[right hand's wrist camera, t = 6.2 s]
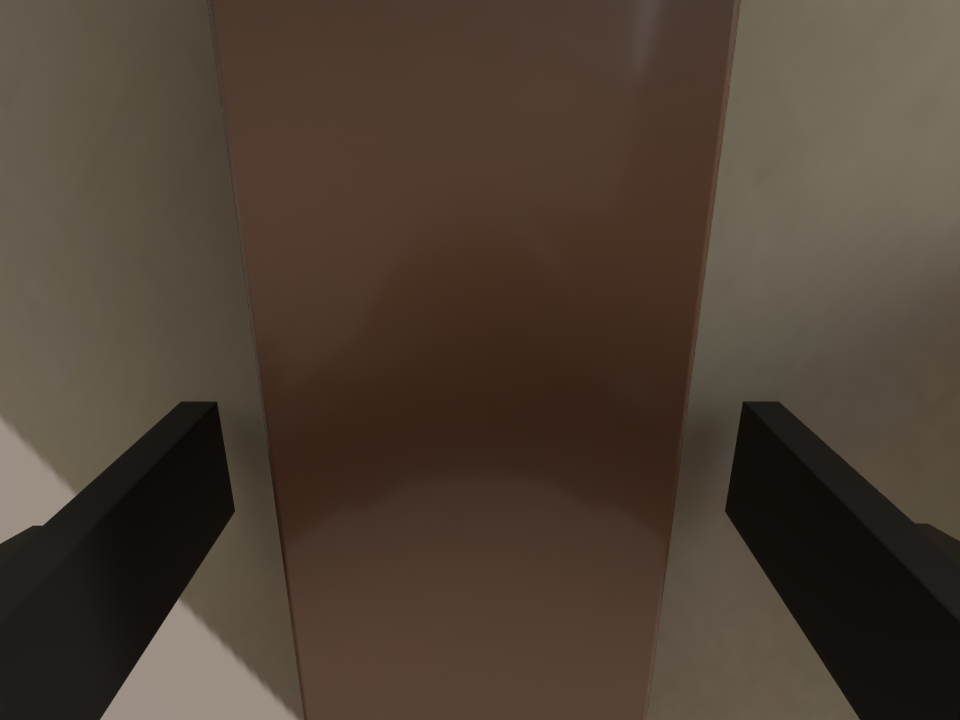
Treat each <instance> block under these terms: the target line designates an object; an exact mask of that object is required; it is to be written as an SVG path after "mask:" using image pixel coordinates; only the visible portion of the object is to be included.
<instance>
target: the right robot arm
mask: <svg viewBox="0 0 960 720" xmlns="http://www.w3.org/2000/svg"><path fill="white" fill-rule="evenodd" d="M234 512H235V508H234V502H233V496H232V490H231V484H230V478H229V472H228V465H227V459H226V453H225V447H224V441H223V435H222V429H221V423H220V417H219V411H218V405H217V402H180V403H179V404H178V405H177V406H176V407H175V408H174V409H172V410H171V411H170V412H169V413H168V414H167V415H166V416H165V417H164V418H162V419H161V420H160V421H159V422H158V423H157V424H156V425H155V426H154V427H152V428H151V429H150V430H149V431H148V432H147V433H146V434H145V435H144V436H142V437H141V438H140V439H139V440H138V441H137V442H136V443H135V444H133V445H132V446H131V447H130V448H129V449H128V450H127V451H126V452H125V453H123V454H122V455H121V456H120V457H119V458H118V459H117V460H116V461H115V462H113V463H112V464H111V465H110V466H109V467H108V468H107V469H106V470H105V471H103V472H102V473H101V474H100V475H99V476H98V477H97V478H96V479H95V480H93V481H92V482H91V483H90V484H89V485H88V486H87V487H86V488H84V489H83V490H82V491H81V492H80V493H79V494H78V495H77V496H76V497H74V498H73V499H72V500H71V501H70V502H69V503H68V504H67V505H66V506H64V507H63V508H62V509H61V510H60V511H59V512H58V513H57V514H56V515H54V516H53V517H52V518H51V519H50V520H49V521H48V522H47V523H46V524H44V525H43V526H32V527H30V528H28V529H26V530H24V531H23V532H21V533H19V534H17V535H15V536H14V537H12V538H10V539H8V540H6V541H5V542H3V543H1V544H0V720H100V719H101V717H102V716H103V714H104V713H105V711H106V709H107V708H108V706H109V705H110V703H111V702H112V700H113V699H114V697H115V696H116V694H117V692H118V691H119V689H120V688H121V686H122V685H123V683H124V682H125V680H126V679H127V677H128V675H129V674H130V672H131V671H132V669H133V668H134V666H135V665H136V663H137V662H138V660H139V658H140V657H141V655H142V654H143V652H144V651H145V649H146V648H147V646H148V645H149V643H150V642H151V640H152V638H153V637H154V635H155V634H156V632H157V631H158V629H159V628H160V626H161V625H162V623H163V621H164V620H165V618H166V617H167V615H168V614H169V612H170V611H171V609H172V608H173V606H174V605H175V603H176V602H177V600H178V598H179V597H180V595H181V594H182V592H183V591H184V589H185V588H186V586H187V585H188V583H189V581H190V580H191V578H192V577H193V575H194V574H195V572H196V571H197V569H198V568H199V566H200V565H201V563H202V561H203V560H204V558H205V557H206V555H207V554H208V552H209V551H210V549H211V548H212V546H213V544H214V543H215V541H216V540H217V538H218V537H219V535H220V534H221V532H222V531H223V529H224V527H225V526H226V524H227V523H228V521H229V520H230V518H231V517H232V515H233V514H234ZM725 512H726V514H727V515H728V517H729V518H730V520H731V521H732V523H733V524H734V526H735V527H736V529H737V531H738V532H739V534H740V535H741V537H742V538H743V540H744V541H745V543H746V544H747V546H748V548H749V549H750V551H751V552H752V554H753V555H754V557H755V558H756V560H757V561H758V563H759V564H760V566H761V568H762V569H763V571H764V572H765V574H766V575H767V577H768V578H769V580H770V581H771V583H772V585H773V586H774V588H775V589H776V591H777V592H778V594H779V595H780V597H781V598H782V600H783V601H784V603H785V605H786V606H787V608H788V609H789V611H790V612H791V614H792V615H793V617H794V618H795V620H796V622H797V623H798V625H799V626H800V628H801V629H802V631H803V632H804V634H805V635H806V637H807V639H808V640H809V642H810V643H811V645H812V646H813V648H814V649H815V651H816V652H817V654H818V655H819V657H820V659H821V660H822V662H823V663H824V665H825V666H826V668H827V669H828V671H829V672H830V674H831V676H832V677H833V679H834V680H835V682H836V683H837V685H838V686H839V688H840V689H841V691H842V692H843V694H844V696H845V697H846V699H847V700H848V702H849V703H850V705H851V706H852V708H853V709H854V711H855V713H856V714H857V716H858V717H859V719H860V720H960V541H958V540H956V539H955V538H953V537H951V536H949V535H947V534H945V533H944V532H942V531H940V530H938V529H936V528H935V527H933V526H931V525H929V524H915V523H913V522H912V521H911V520H910V519H909V518H908V517H907V516H906V515H905V514H903V513H902V512H901V511H900V510H899V509H898V508H897V507H896V506H894V505H893V504H892V503H891V502H890V501H889V500H888V499H887V498H886V497H884V496H883V495H882V494H881V493H880V492H879V491H878V490H877V489H876V488H874V487H873V486H872V485H871V484H870V483H869V482H868V481H867V480H866V479H864V478H863V477H862V476H861V475H860V474H859V473H858V472H857V471H855V470H854V469H853V468H852V467H851V466H850V465H849V464H848V463H847V462H845V461H844V460H843V459H842V458H841V457H840V456H839V455H838V454H837V453H835V452H834V451H833V450H832V449H831V448H830V447H829V446H828V445H827V444H825V443H824V442H823V441H822V440H821V439H820V438H819V437H818V436H816V435H815V434H814V433H813V432H812V431H811V430H810V429H809V428H808V427H806V426H805V425H804V424H803V423H802V422H801V421H800V420H799V419H798V418H796V417H795V416H794V415H793V414H792V413H791V412H790V411H789V410H788V409H786V408H785V407H784V406H783V405H782V404H781V403H780V402H743V405H742V411H741V417H740V423H739V429H738V435H737V441H736V447H735V453H734V459H733V466H732V472H731V478H730V484H729V490H728V496H727V502H726V508H725Z"/></svg>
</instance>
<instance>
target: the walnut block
mask: <svg viewBox="0 0 960 720" xmlns="http://www.w3.org/2000/svg"><path fill="white" fill-rule="evenodd" d="M207 1H208V9H209V16H210V23H211V31H212V38H213V46H214V53H215V61H216V68H217V75H218V83H219V90H220V98H221V105H222V112H223V120H224V127H225V135H226V142H227V150H228V157H229V164H230V172H231V179H232V187H233V194H234V202H235V209H236V216H237V224H238V231H239V239H240V246H241V253H242V261H243V268H244V276H245V283H246V291H247V298H248V305H249V313H250V320H251V328H252V335H253V342H254V350H255V357H256V365H257V372H258V380H259V387H260V394H261V402H262V409H263V417H264V424H265V431H266V439H267V446H268V454H269V461H270V469H271V476H272V483H273V491H274V498H275V506H276V513H277V521H278V528H279V535H280V543H281V550H282V558H283V565H284V572H285V580H286V587H287V595H288V602H289V610H290V617H291V624H292V632H293V639H294V647H295V654H296V661H297V669H298V676H299V684H300V691H301V699H302V706H303V713H304V720H647V713H648V705H649V697H650V690H651V682H652V674H653V667H654V659H655V652H656V644H657V636H658V629H659V621H660V613H661V606H662V598H663V591H664V583H665V575H666V568H667V560H668V552H669V545H670V537H671V530H672V522H673V514H674V507H675V499H676V491H677V484H678V476H679V469H680V461H681V453H682V446H683V438H684V431H685V423H686V415H687V408H688V400H689V392H690V385H691V377H692V370H693V362H694V354H695V347H696V339H697V331H698V324H699V316H700V309H701V301H702V293H703V286H704V278H705V270H706V263H707V255H708V248H709V240H710V232H711V225H712V217H713V209H714V202H715V194H716V187H717V179H718V171H719V164H720V156H721V149H722V141H723V133H724V126H725V118H726V110H727V103H728V95H729V88H730V80H731V72H732V65H733V57H734V49H735V42H736V34H737V27H738V19H739V11H740V4H741V0H207Z"/></svg>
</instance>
